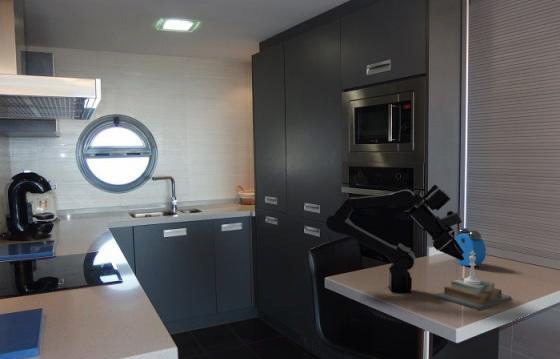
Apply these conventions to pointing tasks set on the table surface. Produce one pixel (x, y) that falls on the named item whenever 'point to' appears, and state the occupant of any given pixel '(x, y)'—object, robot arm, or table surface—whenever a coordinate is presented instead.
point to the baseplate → (472, 304)
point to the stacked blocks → (473, 291)
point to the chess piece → (472, 271)
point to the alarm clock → (471, 246)
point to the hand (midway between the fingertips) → (463, 256)
